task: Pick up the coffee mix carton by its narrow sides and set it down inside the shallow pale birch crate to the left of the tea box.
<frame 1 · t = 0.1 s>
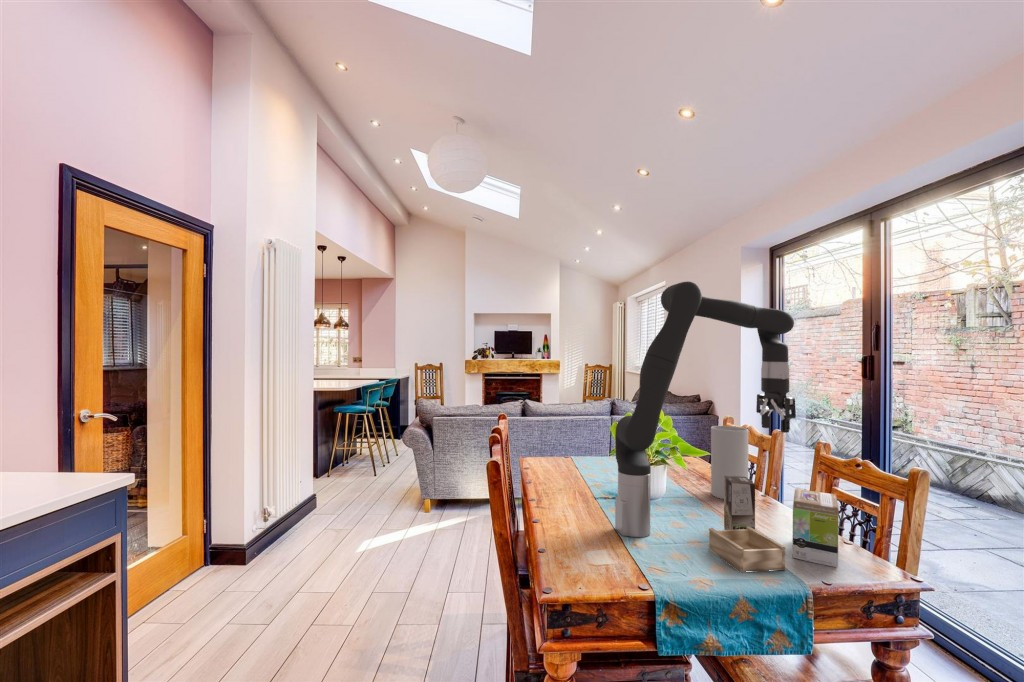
hand: (775, 430, 145), 29 cm above the table, fingers open, 8 cm apart
crate: (745, 559, 121), on the table
tea box: (815, 554, 125), on the table
coffee box: (739, 537, 136), on the table
cylinder vase: (729, 497, 176), on the table
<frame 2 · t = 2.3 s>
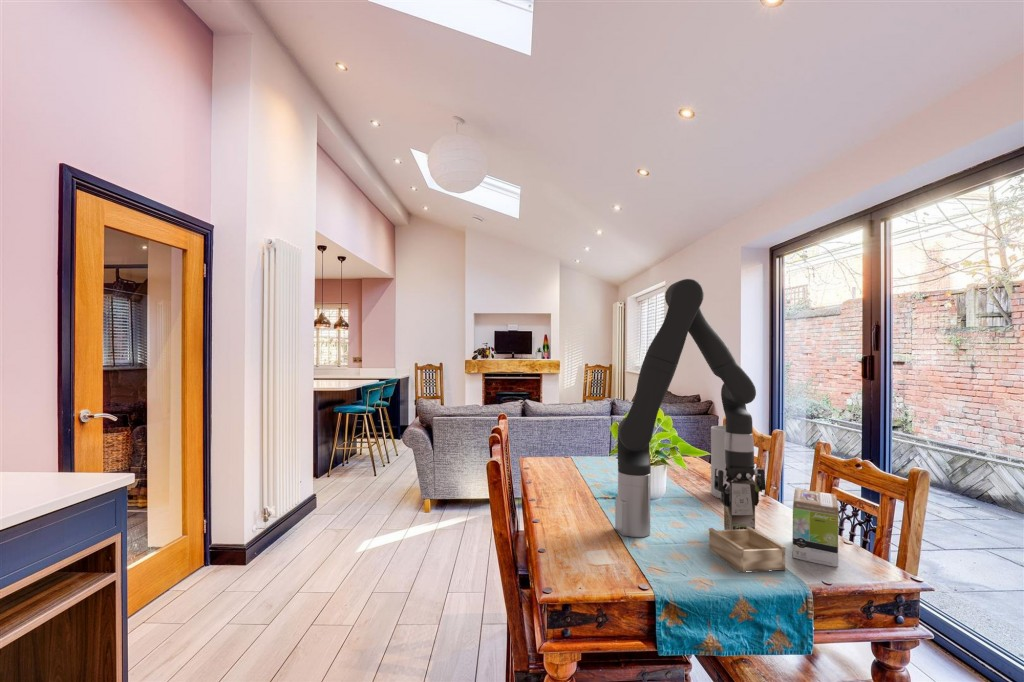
hand: (740, 505, 137), 9 cm above the table, fingers open, 8 cm apart
nothing on the table moved.
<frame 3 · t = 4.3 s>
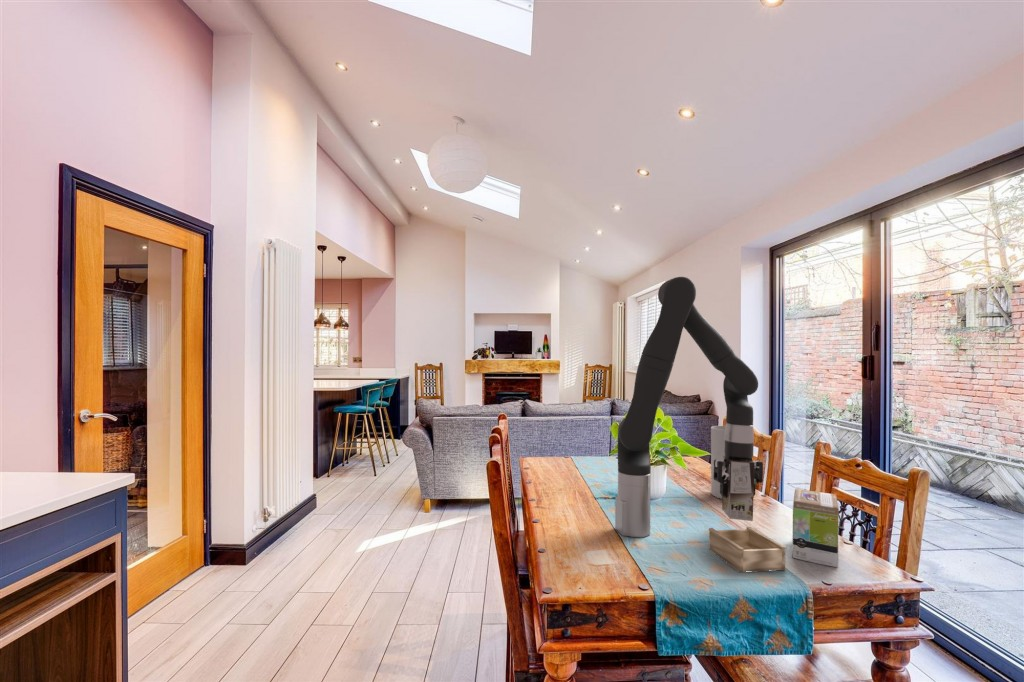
hand: (737, 497, 137), 11 cm above the table, fingers closed on coffee box, 7 cm apart
coffee box: (736, 515, 137), point 6 cm above the table, touching gripper
everything else where it was.
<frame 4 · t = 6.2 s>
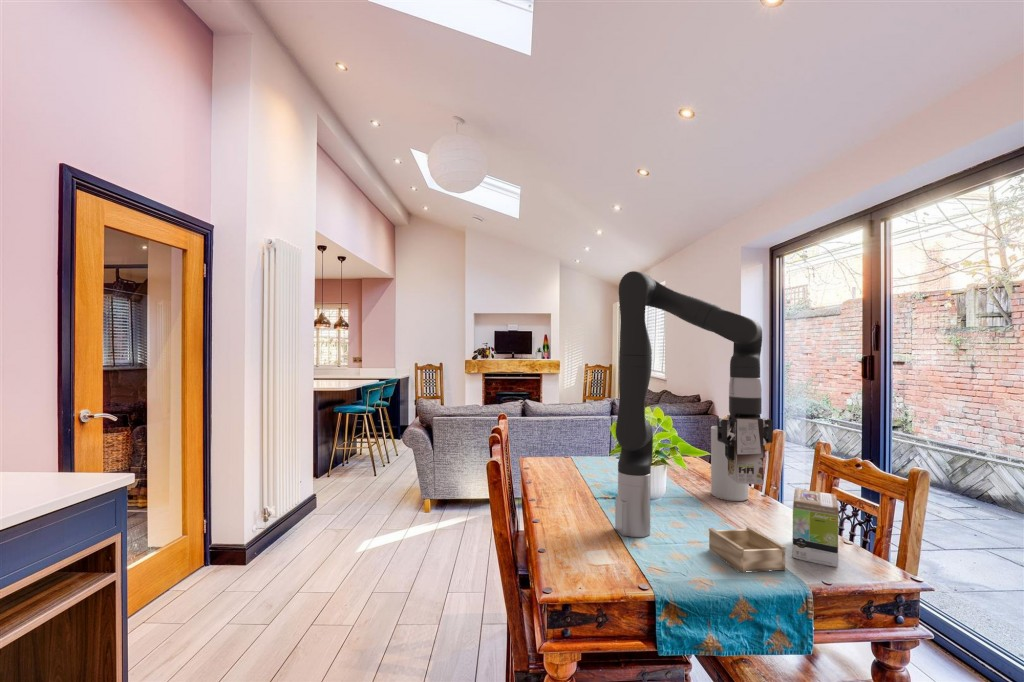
hand: (745, 459, 122), 25 cm above the table, fingers closed on coffee box, 7 cm apart
coffee box: (745, 480, 122), point 20 cm above the table, touching gripper
everything else where it was.
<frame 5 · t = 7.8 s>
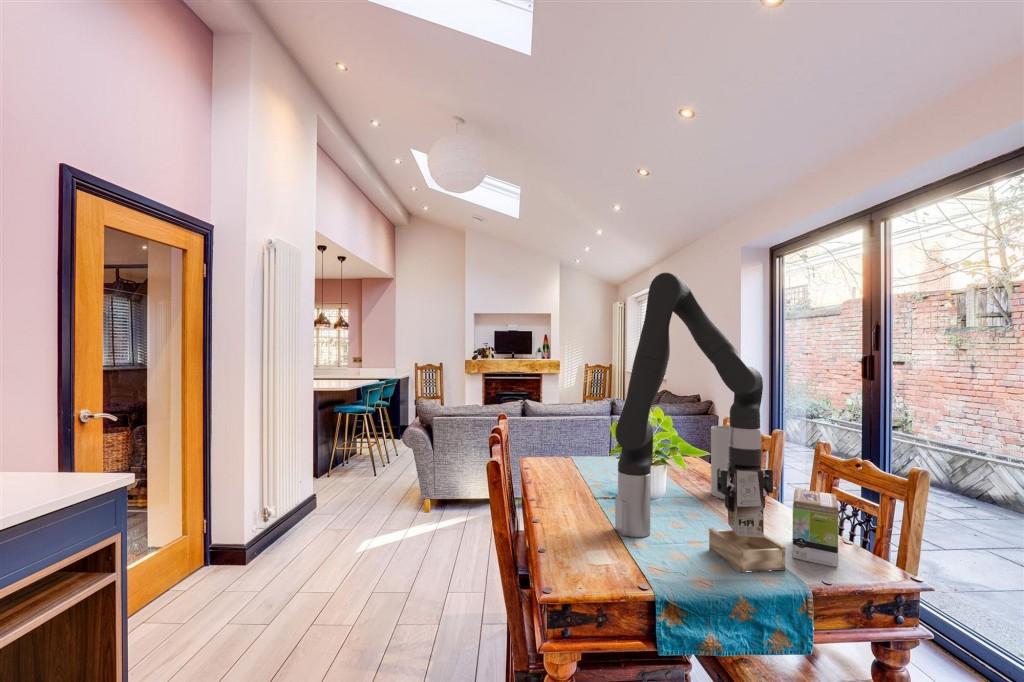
hand: (745, 510, 121), 12 cm above the table, fingers closed on coffee box, 7 cm apart
coffee box: (745, 531, 121), point 7 cm above the table, touching gripper
everything else where it was.
when the fingers open (7 cm above the table, at t = 9.2 s): coffee box drops 1 cm, resting on crate.
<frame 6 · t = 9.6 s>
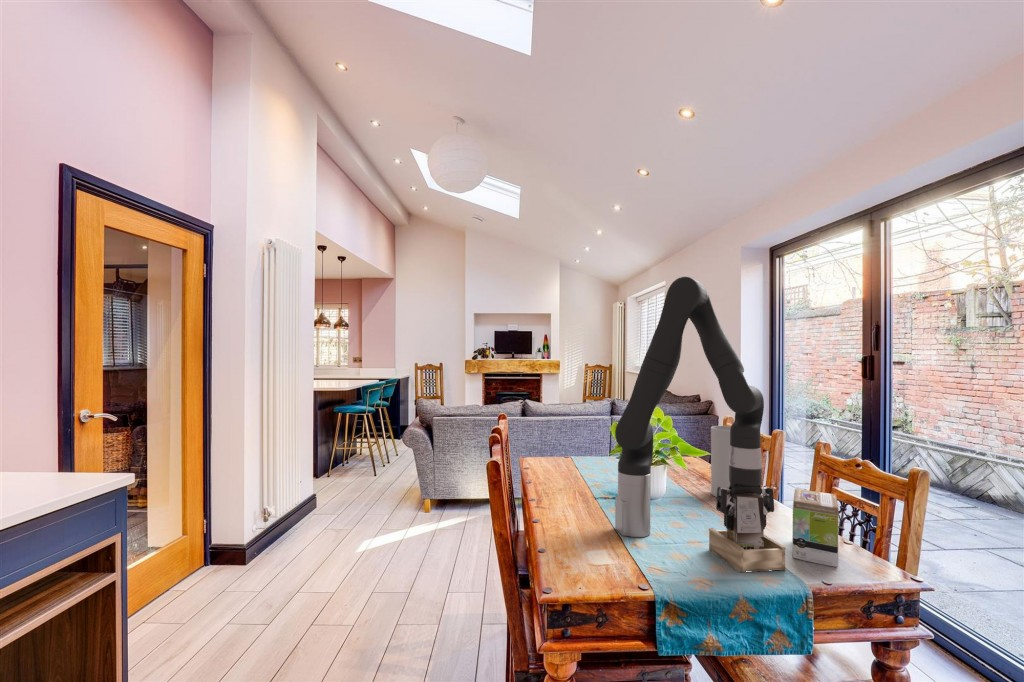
hand: (745, 529, 121), 8 cm above the table, fingers open, 8 cm apart
coffee box: (744, 557, 121), point 1 cm above the table, touching crate
everything else where it was.
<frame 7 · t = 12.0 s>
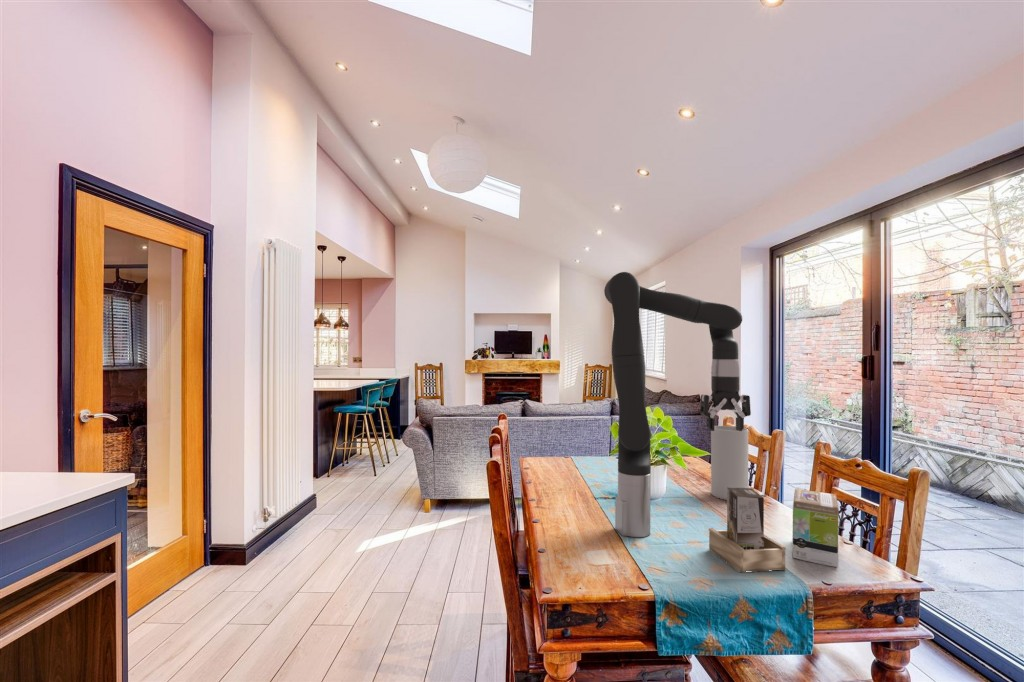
hand: (725, 430, 139), 30 cm above the table, fingers open, 8 cm apart
nothing on the table moved.
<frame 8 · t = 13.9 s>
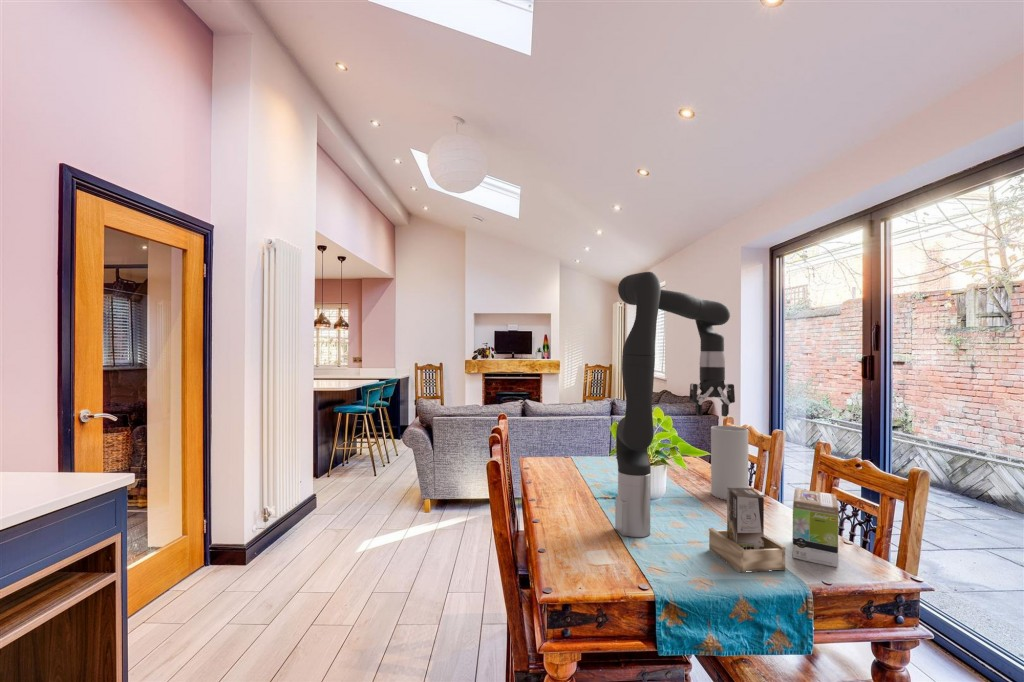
hand: (712, 416, 153), 32 cm above the table, fingers open, 8 cm apart
nothing on the table moved.
at the end: coffee box 0.1 cm off-centre on the crate, point 0.6 cm above the crate's base; coffee box tilted 0°; the gripper is holding nothing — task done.
